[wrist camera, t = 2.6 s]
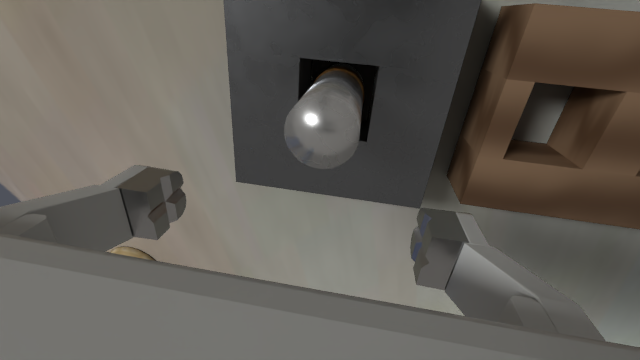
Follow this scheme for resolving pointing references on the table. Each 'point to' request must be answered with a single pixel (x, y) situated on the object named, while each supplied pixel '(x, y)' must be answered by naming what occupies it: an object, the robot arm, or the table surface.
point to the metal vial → (327, 119)
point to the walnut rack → (572, 126)
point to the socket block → (350, 47)
